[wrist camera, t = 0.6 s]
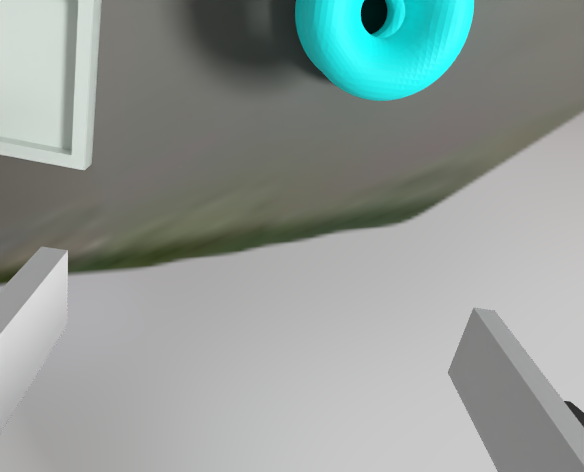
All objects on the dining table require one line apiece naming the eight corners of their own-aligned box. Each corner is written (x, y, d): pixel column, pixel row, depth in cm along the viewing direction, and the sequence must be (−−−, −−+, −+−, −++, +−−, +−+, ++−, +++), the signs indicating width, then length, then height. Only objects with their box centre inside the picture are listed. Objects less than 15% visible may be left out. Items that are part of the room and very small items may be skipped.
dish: (-97, -58, 34) (-115, -62, 32) (102, -11, 35) (94, -13, 34) (-82, 131, 39) (-97, 136, 37) (91, 163, 40) (84, 170, 39)
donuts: (318, -108, 25) (505, -77, 26) (303, -76, 34) (442, -54, 35) (293, 93, 29) (456, 113, 30) (286, 74, 38) (411, 90, 39)
